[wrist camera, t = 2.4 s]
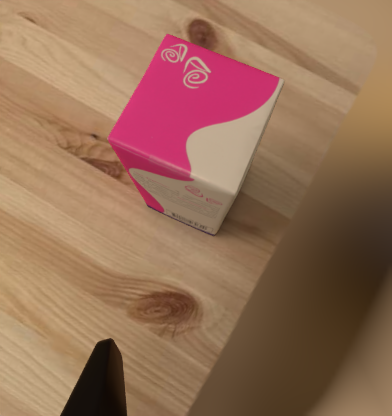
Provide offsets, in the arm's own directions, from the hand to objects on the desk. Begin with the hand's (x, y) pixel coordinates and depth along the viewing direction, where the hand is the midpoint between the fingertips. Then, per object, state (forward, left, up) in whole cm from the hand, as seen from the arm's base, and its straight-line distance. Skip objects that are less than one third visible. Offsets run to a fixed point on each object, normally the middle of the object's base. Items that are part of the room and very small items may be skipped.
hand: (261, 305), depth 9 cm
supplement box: (+6, -5, -13) cm, 15 cm away
